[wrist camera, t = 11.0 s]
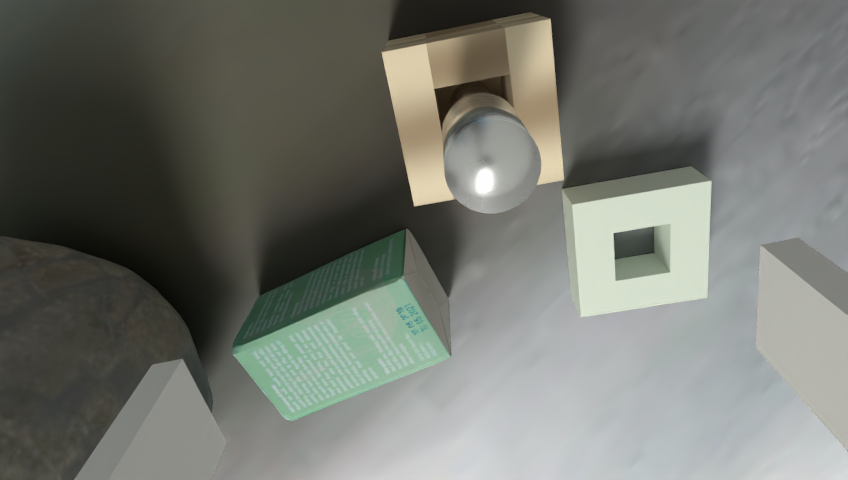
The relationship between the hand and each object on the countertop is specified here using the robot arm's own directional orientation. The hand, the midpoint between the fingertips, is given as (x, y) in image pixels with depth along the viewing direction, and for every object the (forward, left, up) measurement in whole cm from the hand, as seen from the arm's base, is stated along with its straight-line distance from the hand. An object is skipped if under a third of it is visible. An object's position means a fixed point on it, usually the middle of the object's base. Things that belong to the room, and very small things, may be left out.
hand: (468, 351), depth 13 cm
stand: (+12, +12, -27) cm, 31 cm away
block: (0, +2, -27) cm, 27 cm away
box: (+13, -9, -27) cm, 31 cm away
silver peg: (0, +2, -26) cm, 26 cm away
